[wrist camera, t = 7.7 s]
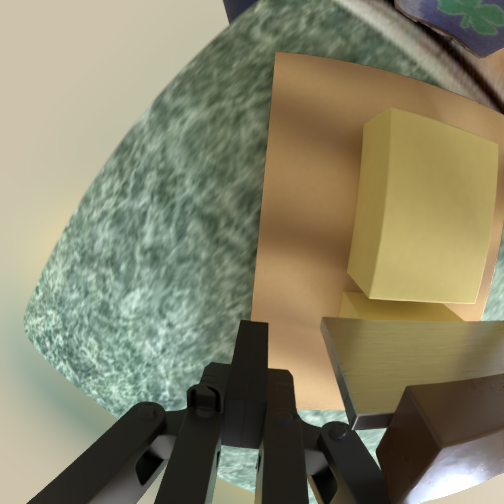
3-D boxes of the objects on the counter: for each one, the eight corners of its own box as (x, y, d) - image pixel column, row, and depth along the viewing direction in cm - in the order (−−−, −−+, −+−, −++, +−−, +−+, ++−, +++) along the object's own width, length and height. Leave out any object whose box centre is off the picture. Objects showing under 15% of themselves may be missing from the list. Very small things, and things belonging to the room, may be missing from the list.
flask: (391, 11, 15) (454, -69, 4) (393, -12, 14) (448, -89, 4) (486, 65, 15) (571, 29, 4) (486, 40, 14) (562, 0, 4)
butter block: (363, 123, 16) (391, 106, 11) (457, 148, 16) (498, 143, 11) (346, 272, 18) (368, 299, 13) (439, 280, 18) (475, 304, 13)
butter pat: (342, 290, 18) (362, 322, 14) (435, 297, 18) (469, 324, 13) (334, 333, 19) (349, 372, 14) (424, 336, 19) (452, 368, 14)
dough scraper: (325, 294, 12) (397, 454, 4) (520, 303, 11) (615, 369, 3) (315, 347, 12) (353, 516, 4) (506, 344, 12) (588, 420, 4)
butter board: (275, 60, 17) (275, 51, 15) (497, 119, 16) (508, 117, 14) (243, 393, 22) (241, 405, 20) (440, 392, 21) (447, 401, 20)
